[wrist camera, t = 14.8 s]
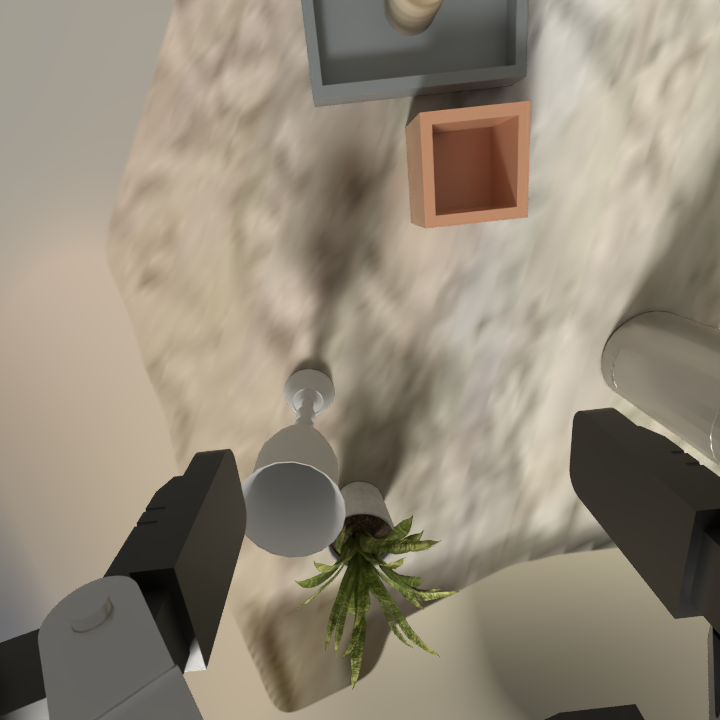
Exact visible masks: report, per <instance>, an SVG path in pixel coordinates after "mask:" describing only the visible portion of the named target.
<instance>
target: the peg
mask: <svg viewBox="0 0 720 720" xmlns="http://www.w3.org/2000/svg"><path fill="white" fill-rule="evenodd" d="M443 1H444V0H384V11H385V15H386V18H387V20H388V22H389V24H390V25H391V27H392V28H393V29H394V30H395V31H397V32H398V33H400V34H402V35H405V36H414V35H418V34H420V33H422V32H424V31H425V30H426V29H427V28H428V27H429V26H430V25H431V23H432V22H433V20H434V18H435V16H436V14H437V12H438V10H439V9H440V7H441V5H442V3H443Z"/></svg>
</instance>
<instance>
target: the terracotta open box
mask: <svg viewBox="0 0 720 720" xmlns="http://www.w3.org/2000/svg"><path fill="white" fill-rule="evenodd" d="M530 108H531V101H522V102H513V103H503V104H494V105H485V106H476V107H466V108H457V109H448V110H439V111H429V112H420V113H419V114H418V115H417V116H416V117H415V118H414V119H413V120H412V121H411V122H410V123H409V124H408V125H407V126H406V144H407V161H408V178H409V195H410V211H411V223H413V224H415V225H418V226H421V227H423V228H433V227H442V226H451V225H460V224H469V223H478V222H487V221H497V220H506V219H515V218H524V217H528V182H529V145H530Z"/></svg>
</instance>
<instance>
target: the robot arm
mask: <svg viewBox="0 0 720 720" xmlns="http://www.w3.org/2000/svg"><path fill="white" fill-rule="evenodd" d="M602 373H603V377H604V379H605V381H606V383H607V384H608V386H609V387H610V388H611V389H612V390H613V391H615V392H616V393H618V394H619V395H620V396H622V397H623V398H625V399H626V400H627V401H629V402H630V403H632V404H633V405H634V406H636V407H637V408H638V409H640V410H641V411H643V412H644V413H645V414H647V415H648V416H650V417H651V418H653V419H654V420H655V421H657V422H658V423H660V424H661V425H662V426H664V427H665V428H667V429H668V430H669V431H671V432H672V433H674V434H675V435H676V436H678V437H679V438H681V439H682V440H684V441H685V442H686V443H688V444H689V445H691V446H692V447H693V448H695V449H696V450H698V451H699V452H700V453H702V454H703V455H705V456H706V457H707V458H709V459H710V460H712V461H713V462H715V463H716V464H717V465H719V466H720V330H718V329H715V328H712V327H709V326H706V325H704V324H701V323H698V322H694V321H691V320H688V319H686V318H683V317H680V316H677V315H674V314H671V313H668V312H661V311H655V312H647V313H644V314H641V315H638V316H636V317H634V318H632V319H630V320H628V321H627V322H626V323H624V324H623V325H622V326H620V327H619V328H618V329H617V330H616V332H615V333H614V334H613V335H612V336H611V338H610V339H609V341H608V342H607V345H606V347H605V349H604V352H603V356H602ZM570 478H571V482H572V486H573V488H574V490H575V492H576V494H577V496H578V497H579V498H580V500H581V501H582V502H583V504H584V505H585V506H586V507H587V509H588V510H589V511H590V512H591V514H592V515H593V516H594V517H595V519H596V520H597V521H598V522H599V524H600V525H601V526H602V527H603V529H604V530H605V531H606V533H607V534H608V535H609V536H610V538H611V539H612V540H613V541H614V543H615V544H616V545H617V546H618V548H619V549H620V550H621V551H622V553H623V554H624V555H625V557H626V558H627V559H628V560H629V562H630V563H631V564H632V565H633V567H634V568H635V569H636V570H637V572H638V573H639V574H640V575H641V577H642V578H643V579H644V581H645V582H646V583H647V584H648V586H649V587H650V588H651V589H652V591H653V592H654V593H655V594H656V596H657V597H658V598H659V599H660V601H661V602H662V603H663V604H664V606H665V607H666V608H667V610H668V611H669V612H670V613H671V614H672V616H673V617H674V618H675V619H678V618H686V617H695V616H704V617H705V618H706V620H707V621H708V622H709V623H710V629H709V633H708V639H707V642H708V643H707V644H708V700H709V720H720V477H719V476H718V475H716V474H715V473H714V472H712V471H711V470H710V469H708V468H707V467H706V466H704V465H700V464H699V461H697V460H696V459H695V458H693V457H692V456H691V455H689V454H688V453H684V450H683V449H681V448H680V447H679V446H677V445H676V444H674V443H673V442H672V441H670V440H669V439H668V438H666V437H665V436H663V435H660V434H658V433H656V432H653V431H651V430H648V429H646V428H644V427H641V426H637V425H635V424H634V423H633V422H632V421H630V420H629V419H628V418H626V417H625V416H624V415H622V414H621V413H620V412H619V411H617V410H616V409H614V408H603V409H594V410H585V411H578V412H577V413H576V414H575V416H574V419H573V428H572V442H571V455H570ZM246 521H247V515H246V505H245V500H244V496H243V491H242V487H241V483H240V478H239V474H238V470H237V465H236V461H235V457H234V454H233V452H232V451H231V450H230V449H224V450H215V451H206V452H198V453H196V454H195V455H194V457H193V459H192V461H191V463H190V464H189V466H188V468H187V470H186V471H185V473H184V475H183V476H176V477H173V478H172V479H171V480H170V481H168V483H166V484H165V485H164V486H163V487H162V488H160V489H159V490H158V491H157V492H156V493H155V495H154V496H153V498H152V499H151V501H150V503H149V504H148V506H147V508H146V512H144V513H143V514H142V516H141V517H140V519H139V521H138V522H137V527H134V528H133V530H132V532H131V533H130V535H129V536H128V538H127V540H126V541H125V543H124V545H123V546H122V548H121V549H120V551H119V553H118V554H117V556H116V557H115V559H114V561H113V562H112V564H111V566H110V567H109V569H108V570H107V572H106V574H105V575H104V577H103V578H100V579H97V580H95V581H92V582H90V583H88V584H85V585H84V586H82V587H80V588H78V589H76V590H75V591H73V592H72V593H70V594H69V595H67V596H66V597H65V598H64V599H62V600H61V601H60V602H59V603H58V604H57V605H56V606H55V607H54V608H53V609H52V610H51V611H50V613H49V614H48V615H47V617H46V618H45V620H44V621H43V623H42V625H41V627H40V629H37V630H35V631H32V632H29V633H27V634H23V635H21V636H18V637H15V638H12V639H10V640H7V641H4V642H1V643H0V720H203V718H202V715H201V713H200V711H199V709H198V707H197V705H196V703H195V701H194V698H193V696H192V694H191V692H190V690H189V688H188V685H187V683H186V681H185V679H184V677H183V674H184V672H189V671H197V670H206V669H207V665H208V662H209V658H210V655H211V651H212V648H213V644H214V641H215V637H216V634H217V630H218V626H219V623H220V620H221V616H222V612H223V609H224V605H225V602H226V598H227V595H228V591H229V588H230V584H231V581H232V577H233V573H234V570H235V566H236V563H237V559H238V556H239V552H240V549H241V545H242V542H243V538H244V534H245V530H246ZM545 720H644V718H643V716H642V715H641V713H640V711H639V710H638V708H637V706H636V705H635V704H633V705H624V706H615V707H606V708H599V709H589V710H580V711H571V712H562V713H558V714H556V715H554V716H552V717H550V718H548V719H545Z"/></svg>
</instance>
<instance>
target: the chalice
mask: <svg viewBox="0 0 720 720" xmlns="http://www.w3.org/2000/svg"><path fill="white" fill-rule="evenodd" d="M284 394H285V399H286V401H287V403H288V405H289V406H290V407H291V408H292V410H293V411H294V412H295V413H296V415H297V420H296V423H295V425H291V426H289V427H286V428H284V429H282V430H280V431H279V432H278V433H276V434H275V435H274V436H273V437H271V438H270V439H269V440H268V441H267V442H266V443H265V444H264V445H263V447H262V449H261V451H260V453H259V455H258V458H257V461H256V465H255V468H254V471H253V474H252V475H250V476H249V477H248V478H247V479H246V480H245V481H244V483H243V485H242V491H243V496H244V500H245V505H246V515H247V521H246V530H245V534H246V536H247V537H248V538H249V539H250V540H251V541H253V542H254V543H255V544H256V545H257V546H258V547H260V548H262V549H264V550H266V551H268V552H270V553H272V554H275V555H280V556H285V557H303V556H308V555H311V554H314V553H317V552H319V551H322V550H323V549H325V548H326V547H327V546H328V545H330V544H331V543H332V542H334V541H335V539H336V538H337V536H338V535H339V533H340V532H341V530H342V528H343V524H344V520H345V516H346V512H345V503H344V499H343V497H342V495H341V492H340V490H339V488H338V464H337V458H336V456H335V454H334V452H333V449H332V448H331V446H330V444H329V443H328V441H327V440H326V439H325V437H324V436H323V435H322V434H321V433H320V432H319V431H317V430H316V429H315V428H313V427H314V423H313V421H314V419H315V417H316V416H317V415H319V414H321V413H322V412H324V411H325V410H326V409H328V408H329V407H330V405H331V404H332V402H333V399H334V395H335V392H334V386H333V384H332V381H331V380H330V379H329V378H328V377H327V376H326V375H325V374H324V373H322V372H320V371H318V370H313V369H304V370H300V371H298V372H295V373H294V374H293V375H292V376H291V377H289V379H288V381H287V382H286V384H285V389H284Z"/></svg>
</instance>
